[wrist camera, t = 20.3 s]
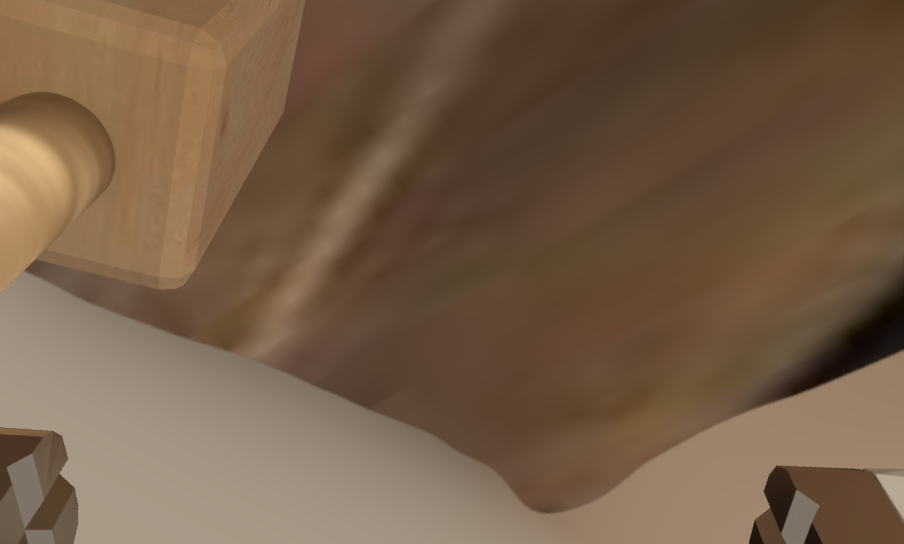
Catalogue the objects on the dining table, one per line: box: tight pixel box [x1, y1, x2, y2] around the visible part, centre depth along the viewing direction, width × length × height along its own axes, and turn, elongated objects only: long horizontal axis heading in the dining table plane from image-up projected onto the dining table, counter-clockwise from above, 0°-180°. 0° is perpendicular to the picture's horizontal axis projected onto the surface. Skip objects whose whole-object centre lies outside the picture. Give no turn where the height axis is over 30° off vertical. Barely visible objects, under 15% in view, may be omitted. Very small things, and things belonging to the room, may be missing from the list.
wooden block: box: [0, 0, 306, 289], centre depth 37 cm, size 10×10×20 cm
